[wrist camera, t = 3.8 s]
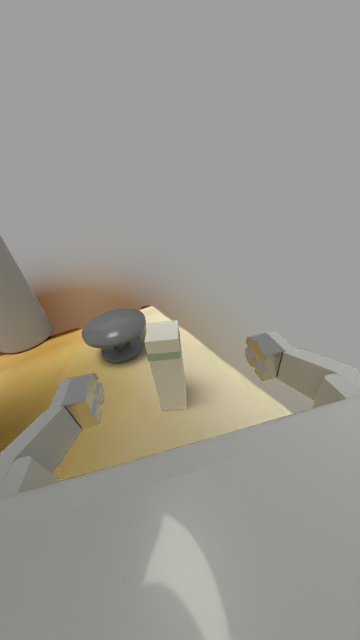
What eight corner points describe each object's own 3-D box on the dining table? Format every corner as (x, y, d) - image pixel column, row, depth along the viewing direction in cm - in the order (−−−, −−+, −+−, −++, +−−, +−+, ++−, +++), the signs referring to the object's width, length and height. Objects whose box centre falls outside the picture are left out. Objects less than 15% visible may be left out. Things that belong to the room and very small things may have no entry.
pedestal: (84, 373, 38) (69, 347, 34) (104, 334, 49) (95, 311, 45) (147, 367, 37) (139, 340, 34) (153, 329, 48) (148, 306, 45)
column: (161, 411, 29) (143, 342, 22) (163, 389, 33) (147, 323, 25) (187, 408, 29) (178, 339, 22) (186, 386, 33) (177, 320, 25)
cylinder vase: (53, 342, 48) (-9, 239, 35) (-6, 362, 44) (-104, 252, 30) (54, 321, 58) (6, 233, 44) (6, 336, 53) (-65, 243, 40)
